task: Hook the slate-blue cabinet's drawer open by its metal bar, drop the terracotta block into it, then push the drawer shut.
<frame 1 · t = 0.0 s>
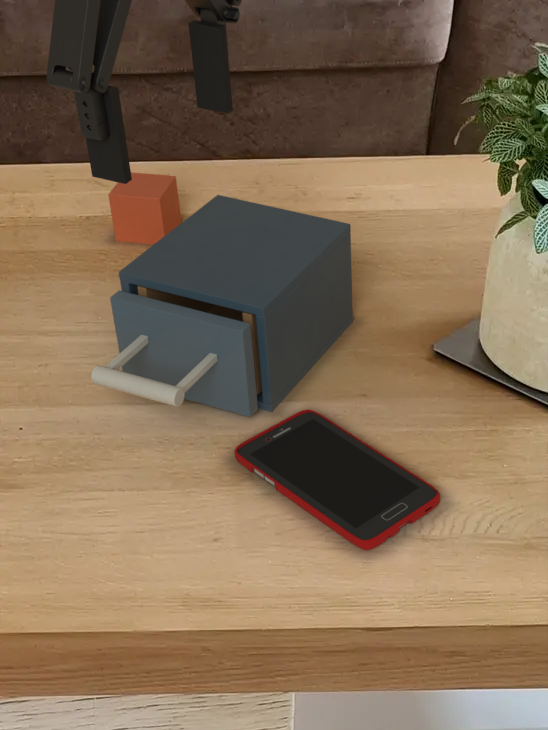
hand: (166, 142, 85), 19 cm above the table, tool pointing down, fingers open, 13 cm apart
cell phone: (335, 483, 85), on the table
drawer: (206, 334, 91), point 5 cm above the table, slide at 1.0 cm
block: (149, 232, 114), on the table
cabinet: (248, 348, 98), on the table
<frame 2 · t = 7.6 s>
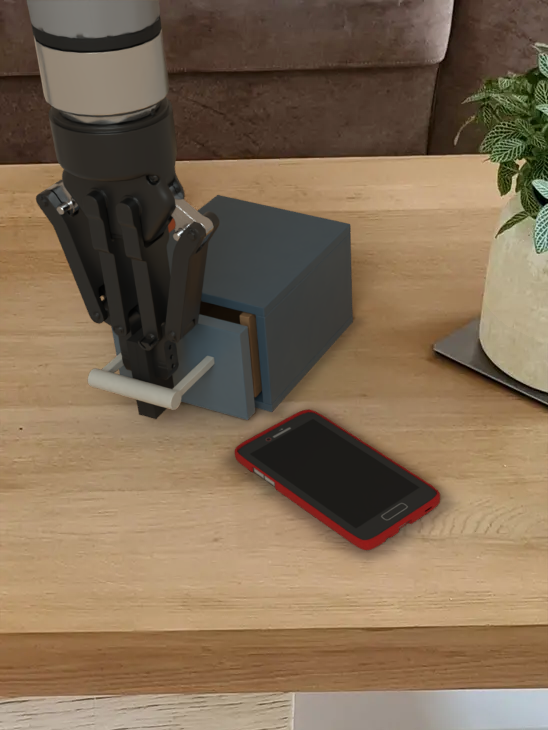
hand: (157, 406, 87), 3 cm above the table, tool pointing down, fingers closed
drawer: (203, 337, 91), point 5 cm above the table, slide at 1.4 cm
everything else where it was.
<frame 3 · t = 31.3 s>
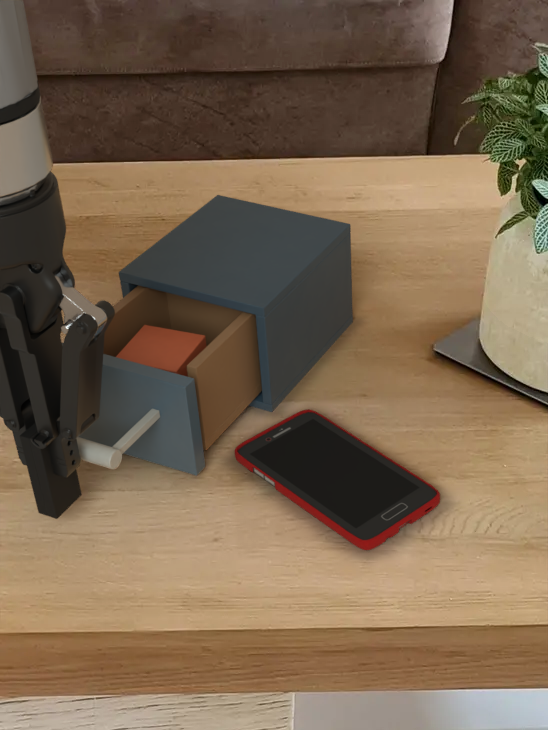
hand: (60, 503, 79), 2 cm above the table, tool pointing down, fingers closed
drawer: (150, 386, 85), point 5 cm above the table, slide at 8.7 cm, touching block, gripper
block: (168, 402, 89), point 2 cm above the table, touching drawer
everything else where it was.
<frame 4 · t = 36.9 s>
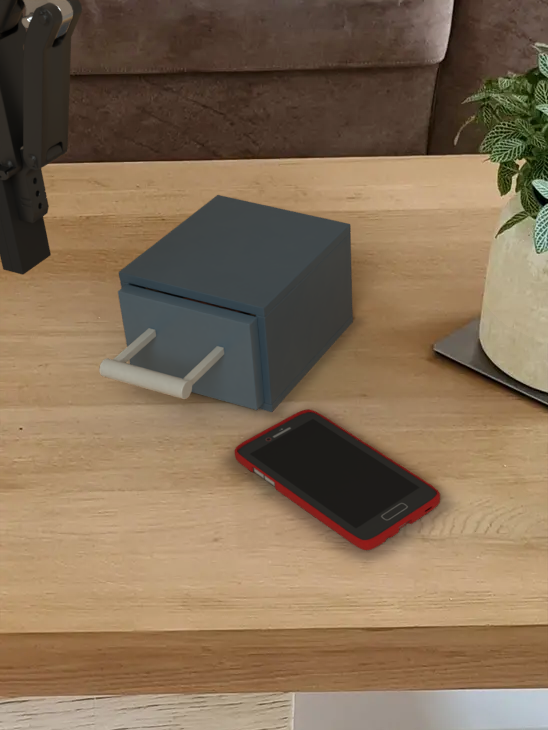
hand: (27, 261, 72), 18 cm above the table, tool pointing down, fingers closed
drawer: (212, 328, 92), point 5 cm above the table, slide at 0.0 cm, touching block, cabinet
block: (226, 345, 95), point 2 cm above the table, touching drawer
everything else where it was.
at the end: drawer pulled out 9.2 cm at the most during the clip, back to where it started at the end; block inside the target area in the cabinet (2.4 cm from its centre), point 2.0 cm above the cabinet's base; drawer slide at 0.0 cm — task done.
